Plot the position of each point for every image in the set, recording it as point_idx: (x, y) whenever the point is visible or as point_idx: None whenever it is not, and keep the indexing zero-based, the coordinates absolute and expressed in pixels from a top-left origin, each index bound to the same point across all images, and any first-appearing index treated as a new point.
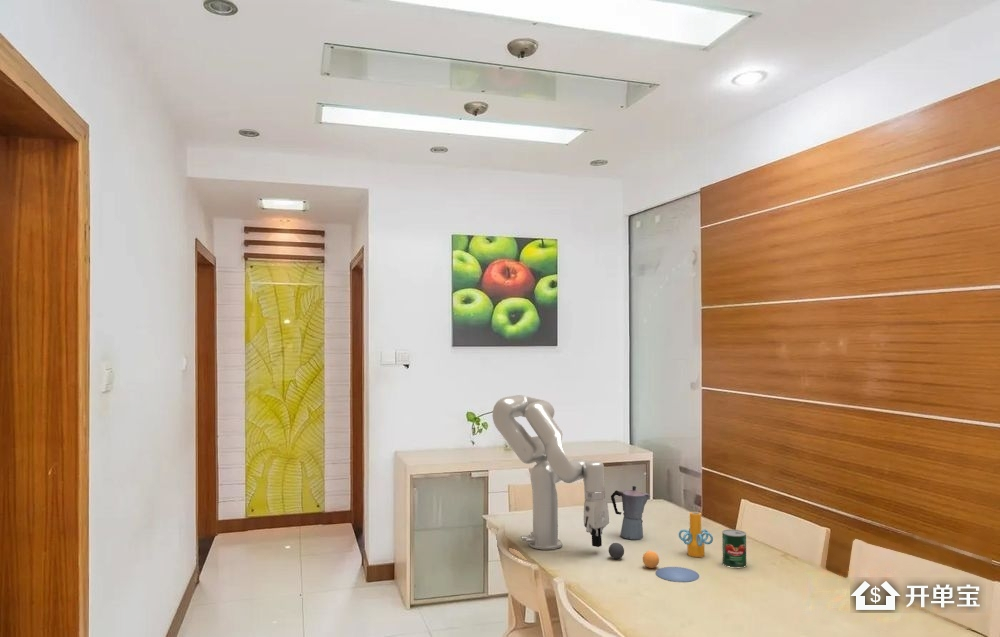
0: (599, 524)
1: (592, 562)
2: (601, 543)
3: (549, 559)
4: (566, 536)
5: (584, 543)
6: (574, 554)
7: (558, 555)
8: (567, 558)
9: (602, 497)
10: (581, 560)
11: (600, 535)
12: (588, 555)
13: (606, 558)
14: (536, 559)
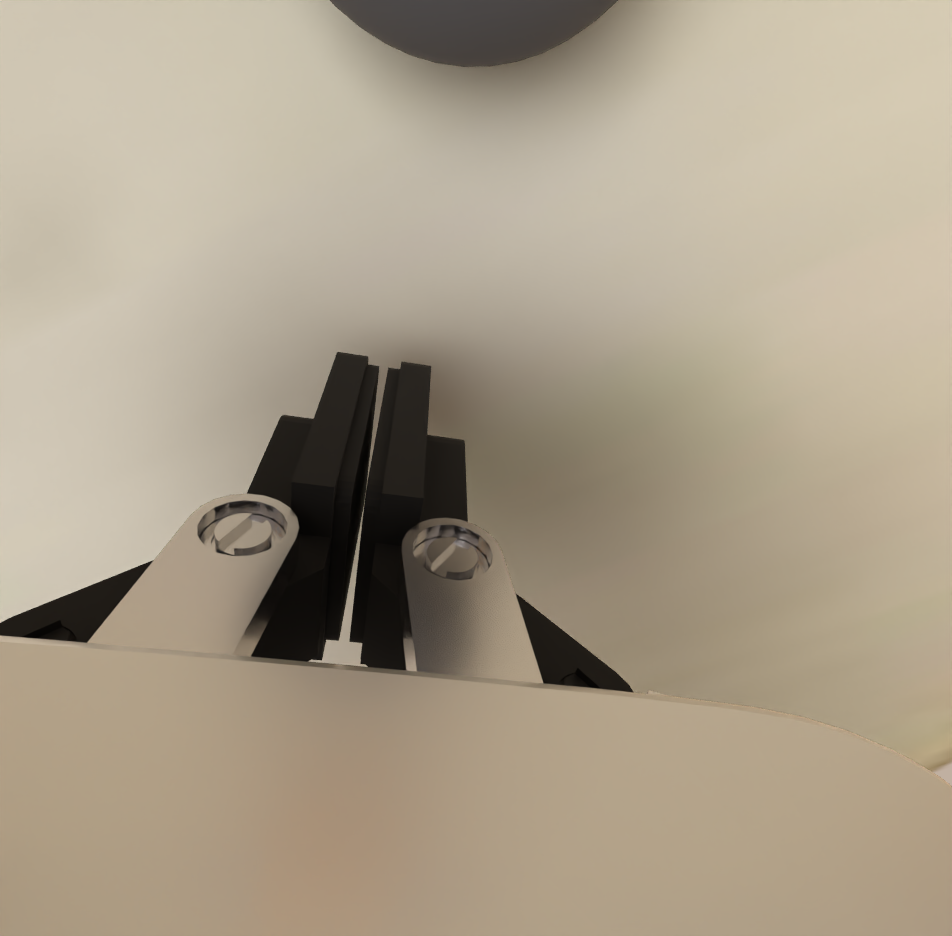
0: (602, 872)
1: (884, 227)
2: (336, 372)
3: (887, 687)
4: None
5: None
6: (606, 580)
7: (719, 680)
8: (795, 578)
9: None
10: (826, 414)
11: (331, 489)
12: (558, 430)
13: (563, 90)
14: (916, 756)
